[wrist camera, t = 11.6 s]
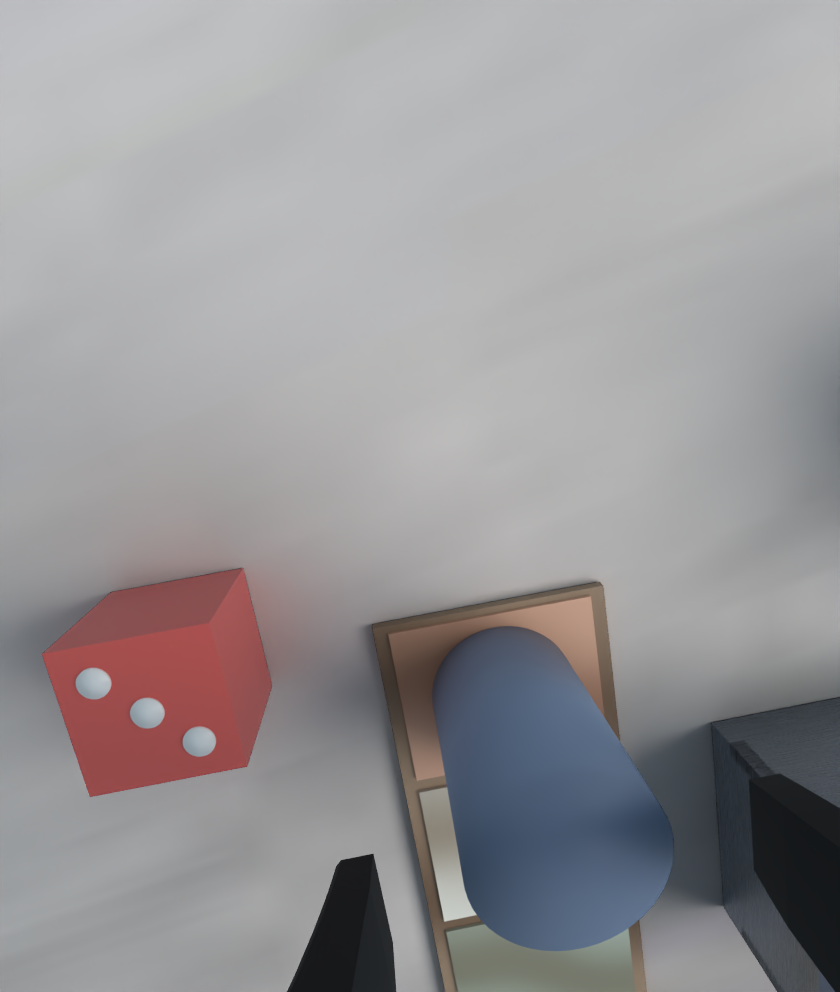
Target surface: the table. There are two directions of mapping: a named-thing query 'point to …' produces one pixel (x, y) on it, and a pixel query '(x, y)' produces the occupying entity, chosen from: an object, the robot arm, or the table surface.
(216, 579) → the red die
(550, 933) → the blue-grey cylinder
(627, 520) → the table surface
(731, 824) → the dome housing
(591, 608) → the game track
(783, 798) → the robot arm
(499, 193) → the table surface
